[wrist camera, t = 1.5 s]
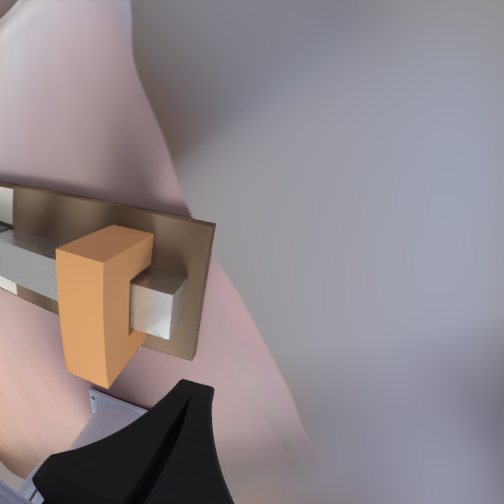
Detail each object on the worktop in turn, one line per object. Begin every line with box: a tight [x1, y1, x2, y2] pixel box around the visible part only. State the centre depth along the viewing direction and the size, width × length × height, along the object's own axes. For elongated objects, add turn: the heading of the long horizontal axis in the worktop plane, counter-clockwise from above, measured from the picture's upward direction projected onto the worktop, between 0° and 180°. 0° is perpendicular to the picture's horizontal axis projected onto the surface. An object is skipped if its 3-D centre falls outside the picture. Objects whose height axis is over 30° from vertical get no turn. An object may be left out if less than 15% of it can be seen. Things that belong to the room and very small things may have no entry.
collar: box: [56, 225, 154, 389], centre depth 17 cm, size 3×8×6 cm, turn 169°
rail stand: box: [0, 182, 216, 361], centre depth 20 cm, size 26×10×4 cm, turn 79°
